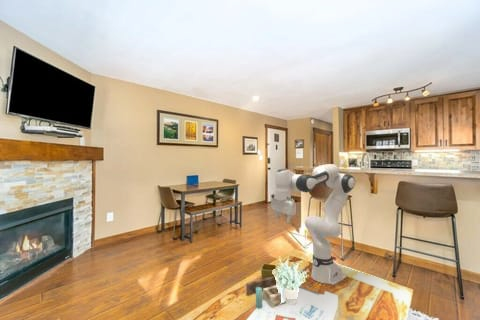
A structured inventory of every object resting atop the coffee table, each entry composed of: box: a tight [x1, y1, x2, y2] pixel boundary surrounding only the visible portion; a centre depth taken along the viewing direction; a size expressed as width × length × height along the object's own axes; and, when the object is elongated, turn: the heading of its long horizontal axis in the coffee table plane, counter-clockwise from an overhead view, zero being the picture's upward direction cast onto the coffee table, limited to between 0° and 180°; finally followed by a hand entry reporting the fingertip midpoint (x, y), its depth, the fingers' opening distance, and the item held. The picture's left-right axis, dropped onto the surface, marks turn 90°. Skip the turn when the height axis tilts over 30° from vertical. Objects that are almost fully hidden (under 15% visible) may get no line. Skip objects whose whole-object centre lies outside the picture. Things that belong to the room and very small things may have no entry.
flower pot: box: [260, 263, 277, 279], centre depth 141 cm, size 9×9×9 cm
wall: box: [245, 276, 276, 296], centre depth 131 cm, size 22×2×6 cm, turn 114°
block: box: [262, 285, 281, 308], centre depth 121 cm, size 9×9×5 cm
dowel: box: [255, 287, 263, 309], centre depth 116 cm, size 3×3×9 cm
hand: (283, 220), depth 129 cm, fingers open, 8 cm apart
